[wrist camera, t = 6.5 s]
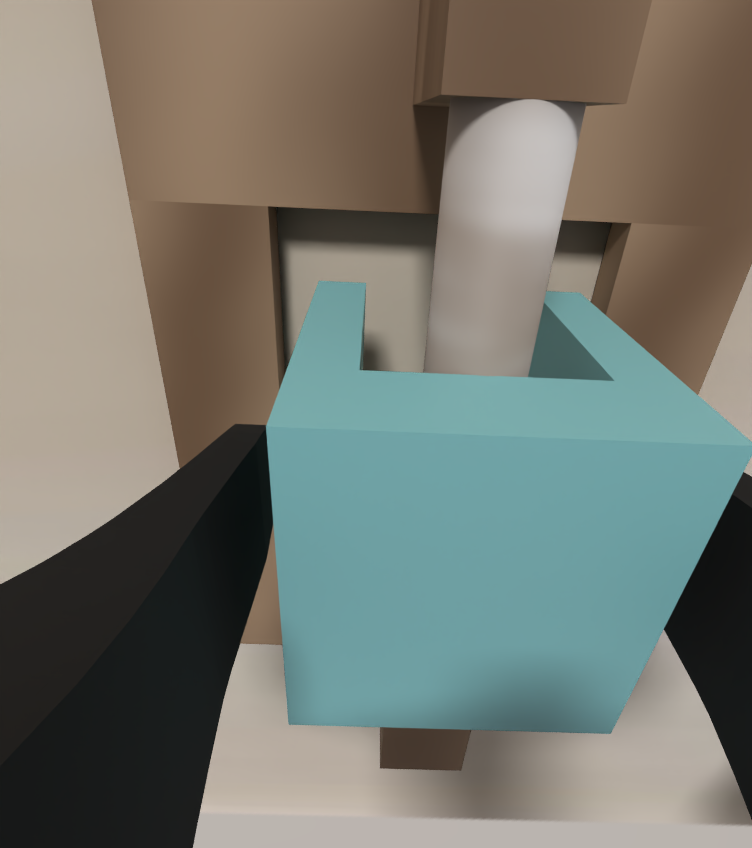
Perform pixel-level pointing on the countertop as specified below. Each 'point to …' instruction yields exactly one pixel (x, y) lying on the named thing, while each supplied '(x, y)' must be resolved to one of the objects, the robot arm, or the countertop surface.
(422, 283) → the countertop surface
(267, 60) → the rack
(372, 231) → the countertop surface
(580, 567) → the teal notched block
